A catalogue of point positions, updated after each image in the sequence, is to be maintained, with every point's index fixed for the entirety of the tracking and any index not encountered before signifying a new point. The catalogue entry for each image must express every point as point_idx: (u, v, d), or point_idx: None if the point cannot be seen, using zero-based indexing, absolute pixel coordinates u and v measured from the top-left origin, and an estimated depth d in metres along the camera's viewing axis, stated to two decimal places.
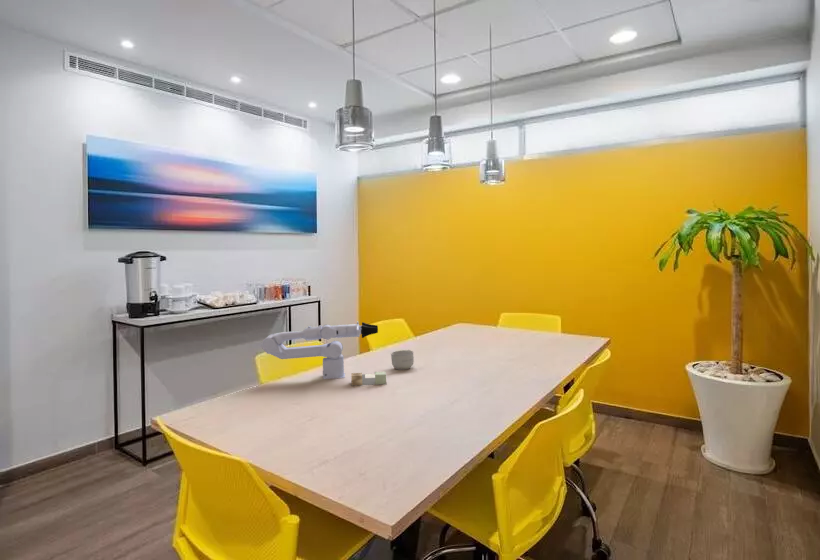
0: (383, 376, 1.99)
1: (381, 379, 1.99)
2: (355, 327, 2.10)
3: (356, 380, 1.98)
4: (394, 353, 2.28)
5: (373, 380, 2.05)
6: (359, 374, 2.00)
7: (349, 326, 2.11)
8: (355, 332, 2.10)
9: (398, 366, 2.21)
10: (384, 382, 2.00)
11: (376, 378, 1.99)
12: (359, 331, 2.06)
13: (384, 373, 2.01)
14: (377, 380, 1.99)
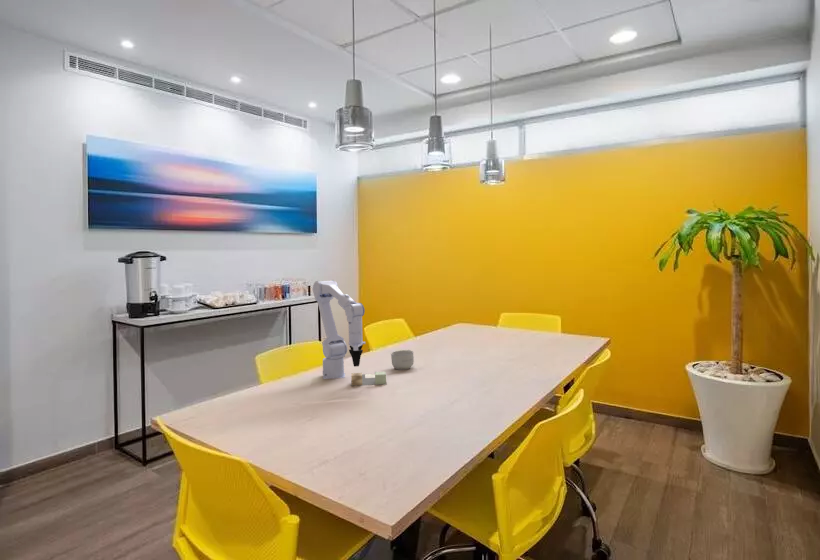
0: (383, 376, 1.99)
1: (381, 379, 1.99)
2: (359, 341, 1.97)
3: (356, 380, 1.98)
4: (394, 353, 2.28)
5: (373, 380, 2.05)
6: (359, 374, 2.00)
7: (360, 335, 1.98)
8: (354, 342, 1.96)
9: (398, 366, 2.21)
10: (384, 382, 2.00)
11: (376, 378, 1.99)
12: (356, 349, 1.92)
13: (384, 373, 2.01)
14: (377, 380, 1.99)
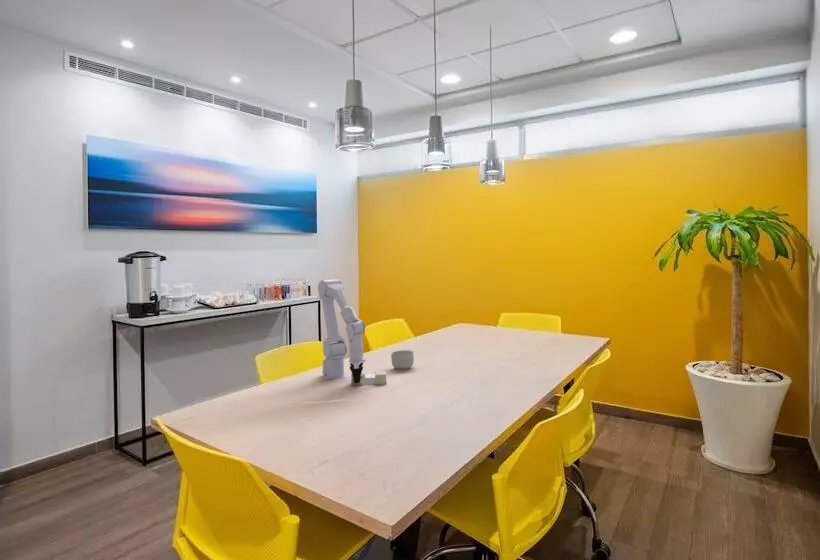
0: (383, 376, 1.99)
1: (381, 379, 1.99)
2: (360, 359, 1.98)
3: None
4: (394, 353, 2.28)
5: (373, 380, 2.05)
6: None
7: (361, 352, 1.98)
8: (354, 359, 1.97)
9: (398, 366, 2.21)
10: (384, 382, 2.00)
11: (376, 378, 1.99)
12: (357, 367, 1.93)
13: (384, 373, 2.01)
14: (377, 380, 1.99)
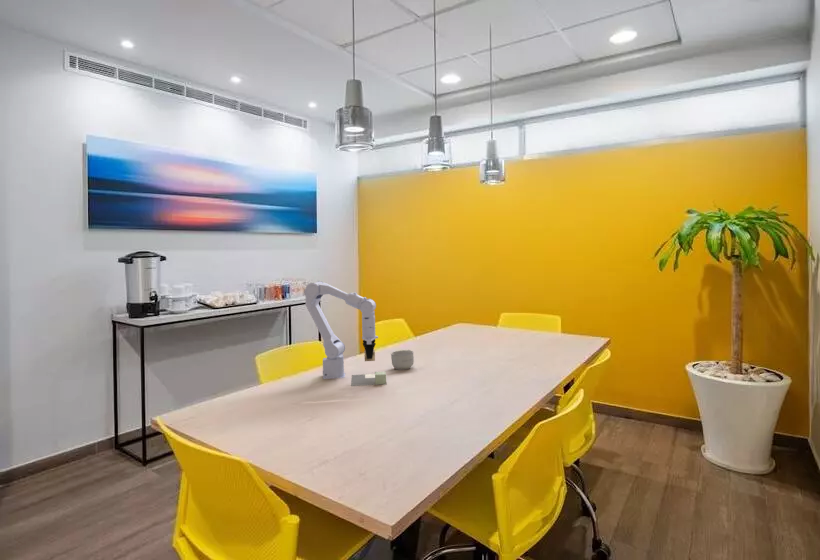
0: (383, 376, 1.99)
1: (381, 379, 1.99)
2: (372, 336, 2.07)
3: None
4: (394, 353, 2.28)
5: (373, 380, 2.05)
6: None
7: (373, 329, 2.07)
8: (367, 336, 2.06)
9: (398, 366, 2.21)
10: (384, 382, 2.00)
11: (376, 378, 1.99)
12: (370, 342, 2.02)
13: (384, 373, 2.01)
14: (377, 380, 1.99)
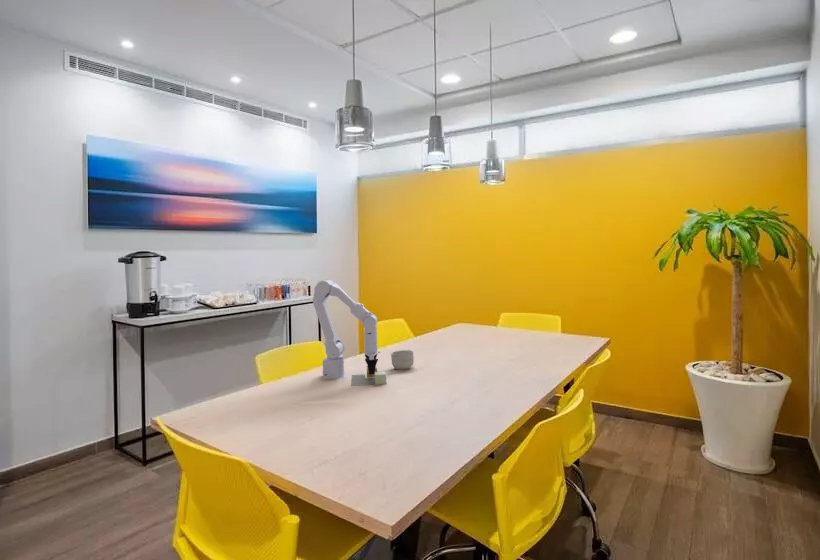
0: (383, 376, 1.99)
1: (381, 379, 1.99)
2: (374, 351, 2.09)
3: None
4: (394, 353, 2.28)
5: (373, 380, 2.05)
6: None
7: (375, 345, 2.09)
8: (369, 351, 2.08)
9: (398, 366, 2.21)
10: (384, 382, 2.00)
11: (376, 378, 1.99)
12: (372, 358, 2.04)
13: (384, 373, 2.01)
14: (377, 380, 1.99)
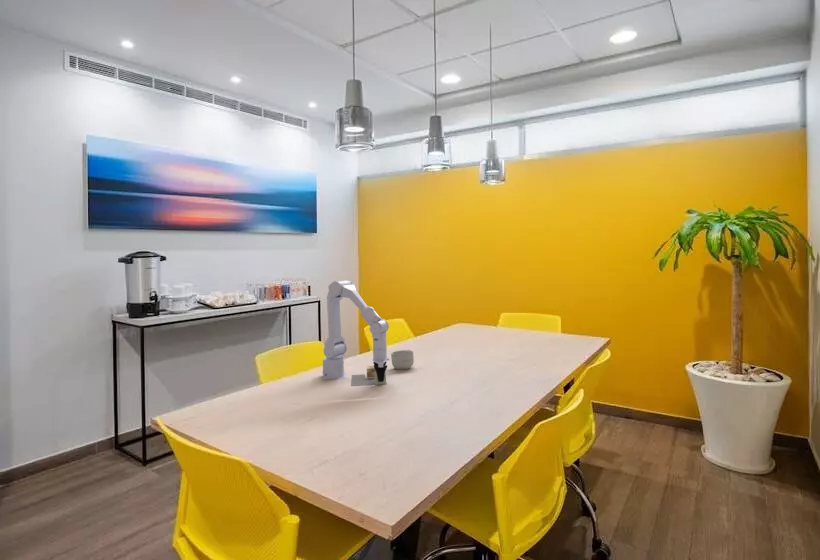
0: None
1: None
2: (384, 358, 1.99)
3: (371, 372, 2.09)
4: (394, 353, 2.28)
5: (373, 380, 2.05)
6: None
7: (385, 351, 1.99)
8: (378, 358, 1.98)
9: (398, 366, 2.21)
10: (384, 382, 2.00)
11: (376, 378, 1.99)
12: (381, 365, 1.94)
13: None
14: (377, 380, 1.99)
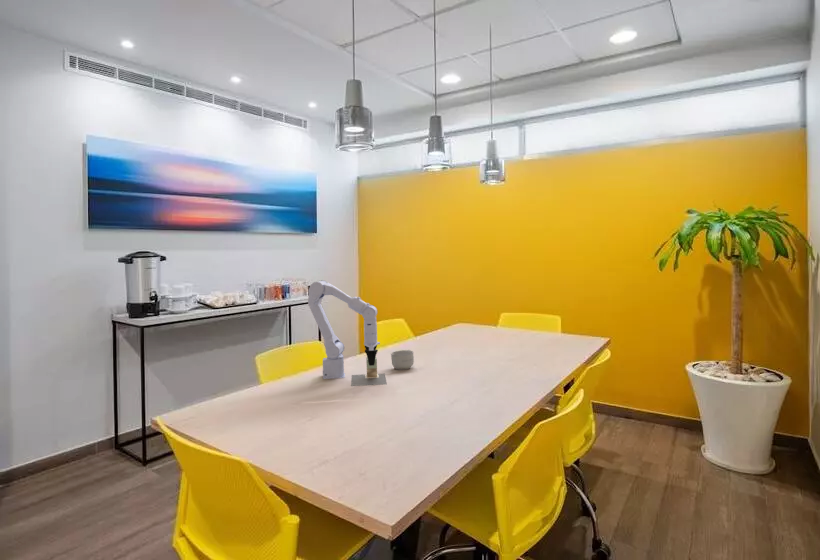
0: None
1: None
2: (374, 342, 2.08)
3: (371, 372, 2.09)
4: (394, 353, 2.28)
5: (373, 380, 2.05)
6: None
7: (375, 336, 2.09)
8: (369, 342, 2.08)
9: (398, 366, 2.21)
10: (375, 366, 2.09)
11: (367, 363, 2.09)
12: (372, 349, 2.04)
13: (375, 358, 2.11)
14: (368, 365, 2.09)
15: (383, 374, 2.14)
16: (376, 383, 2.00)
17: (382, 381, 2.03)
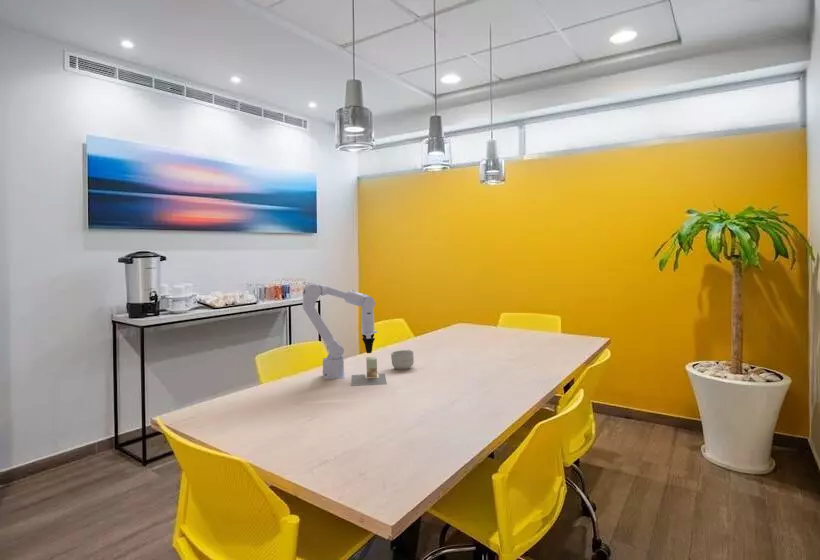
0: (374, 361, 2.09)
1: (372, 364, 2.09)
2: (371, 330, 2.15)
3: (371, 372, 2.09)
4: (394, 353, 2.28)
5: (373, 380, 2.05)
6: None
7: (372, 324, 2.15)
8: (367, 330, 2.14)
9: (398, 366, 2.21)
10: (375, 366, 2.09)
11: (367, 363, 2.09)
12: (369, 337, 2.10)
13: (375, 358, 2.11)
14: (368, 365, 2.09)
15: (383, 374, 2.14)
16: (376, 383, 2.00)
17: (382, 381, 2.03)
